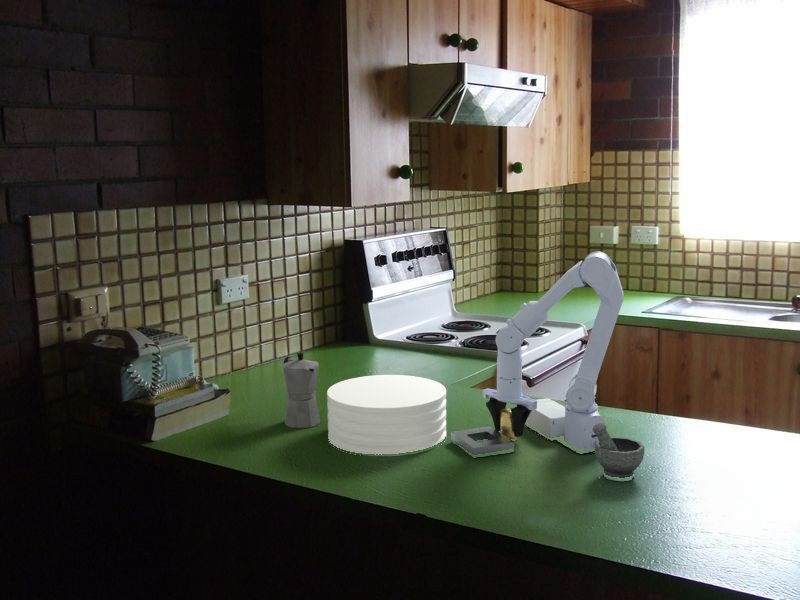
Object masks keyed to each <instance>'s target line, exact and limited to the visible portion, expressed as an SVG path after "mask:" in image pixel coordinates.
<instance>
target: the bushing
mask: <svg viewBox="0 0 800 600" xmlns="http://www.w3.org/2000/svg"><path fill="white" fill-rule="evenodd" d="M499 432H500V433H501V434H503V435H504V436H506V437H508V438H509V439H515V438H517V439H518V437H515V436H514V421H513V416H512V413H511V408H507V407H506V408H505V409H502V410H500V431H499Z"/></svg>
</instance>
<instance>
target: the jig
mask: <svg viewBox="0 0 800 600" xmlns="http://www.w3.org/2000/svg"><path fill="white" fill-rule="evenodd" d="M483 439H488V440H487V441H480V442H476V441H477V440H483ZM451 440H452V441H454V442H455V443H456V444H458V445H460V446H461V447H463V448H464V449H465V450H467V451H468V452H470V453H472V454H473V455H478V454H485V453H491V452H497V451H502V450H509V449H514V450H515V442H514V441H512V440H511V439H509V438H508V437H506V436H504V435H503V434H501V433H500V431H496V430H495V428H493V427H492V426H489V425H488V426H482V427H481V426H480V427H474V428H468V429H467V428H466V429H461V430H454V431H450V441H451Z"/></svg>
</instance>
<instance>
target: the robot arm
mask: <svg viewBox="0 0 800 600" xmlns="http://www.w3.org/2000/svg"><path fill="white" fill-rule="evenodd" d="M621 283H622V282H621V280H620V276H619V273H618V270H617V267H616V264H615V263H614V262H613V260H612V259H611V258H610V256H609V255H608V254H606V253H605V252H603V251H593V252H589V254H588V255H586V257H584V260H580V261H578V262H577V263H576V264H575V265H574V266H573V265H572V267H571V268H570V269H568V270H567V271H566V272H565V273H564V274H563V275H562V276H561V277H560V278H559V279H558V280H557V281H556V282H555V283H554V284H553V285H552V286H551V287H550V288H549V290H547V291H546V293H545V294H543V296H541V298H540V299H539V300H530V301H528V302H527V303H526V302H523V303H522V304H521V305H520V306H519V308H520V310H518V312H517V313H516V314H515V315H514V316H513V317H512V318H508V319H506V321H505V323H506V324H504V325H503V326H502V327H501V328H500V329H499V330H498V332H497V333H496V336H495V345H496V347H497V352H496V353H497V357H496V389H495V388H488V387H487V388H485V389H482V398H483V399H489V400H488V401H486V402H485V406H486V407H487V410H488V411H489V414H490V416H491V418H492V422H493V424H494V425H493V426H494V429H495V430H496V431H498V432H500V410H502V409H506V408H507V404H509V405H515V407H512V408H511V413H512V416H513V421H514V436H515V437H517V438H519V437H521V436H523V433H524V429H525V427H526V426H525V423H526V421H527V418H528V416H529V415H530V413H531V411H532V410H534V409H537V400H538V399H533V398H531V397H529V396H528V395H527V396H526V395H524V393H523V391H522V390H523V389H522V388H523V385H522V384H523V356H522V344H523V342H524V340H525V339H528V338H530V337H531V336H532V335H533V334H534V333H535V332H536V331H537V330H538V329H539V328H540V327H541V326H543V324H544V323H545V322H546V321H548V317H549V315H548V313H549V310H551V309H552V308H553V307H554V306H555V305H556V304H557V303H558V302H560V300H562V299H563V298H564V297H565V296H566V295H567V294H568V293H570V291H571V290H572V289H576V288H582V287H585V285H586V284H587V285H589V286H590V287H591V288H592V289H593V290H594V291H595V293H596V294H597V296H598V298H599V299H600V304H599V307H598V310H597V313H596V316H595V318H594V322H593V325H592V328H591V331H590V334H589V337H588V340H587V344H586V346H585V350H584V353H583V354H582V359H581V362H580V365H579V368H578V370H577V373H576V374H575V376H574V377H572V378H571V380H570V382H569V385H568V389H567V391H566V393H565V400H566V403H565V404H564V407H565V436H564V441H565V442H566V443H567V444H569V445H572V446H574V447H577V448H579V449H580V450H582V451H586V450H587V451H588V450H593V449H594V450H595V442H597V441H598V438H597V436H596V434H595V433H594V432H593V430H592V429H593V427H594V426H595V425H596V424H598V423H604V424H605V426H606V427H607V424H606V420H605V418H604V417H603V416H601V414H600V413H599V410H598V409H599V406H598V404H597V402H596V401H595V400H596V394H597V389H598V385H597V380H598V377H599V373H600V371H601V368H602V365H603V362H604V359H605V356H606V352H607V350H608V346H609V344H610V340H611V338H612V335H613V332H614V329H615V326H616V323H617V320H618V318H619V314H620V311H621V309H622V304H623V302H624V297H625V294H624V289H623V287H622V284H621Z"/></svg>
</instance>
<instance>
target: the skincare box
mask: <svg viewBox="0 0 800 600" xmlns="http://www.w3.org/2000/svg"><path fill="white" fill-rule="evenodd" d="M536 400H537V409H534V410H532V411H531V413H530V415H529V416H528V418H527V421H526V424H527V425H529V426H531V427H532V428H534V429H536V430H537V431H539V432H540V433H542V434H544V435H545V436H547V437H549V438H554V437H560V436H565V405H562V404H560V403H559V402H556V401H554V400H552V399H550V398H549V397H546V398H538V399H536Z"/></svg>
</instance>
